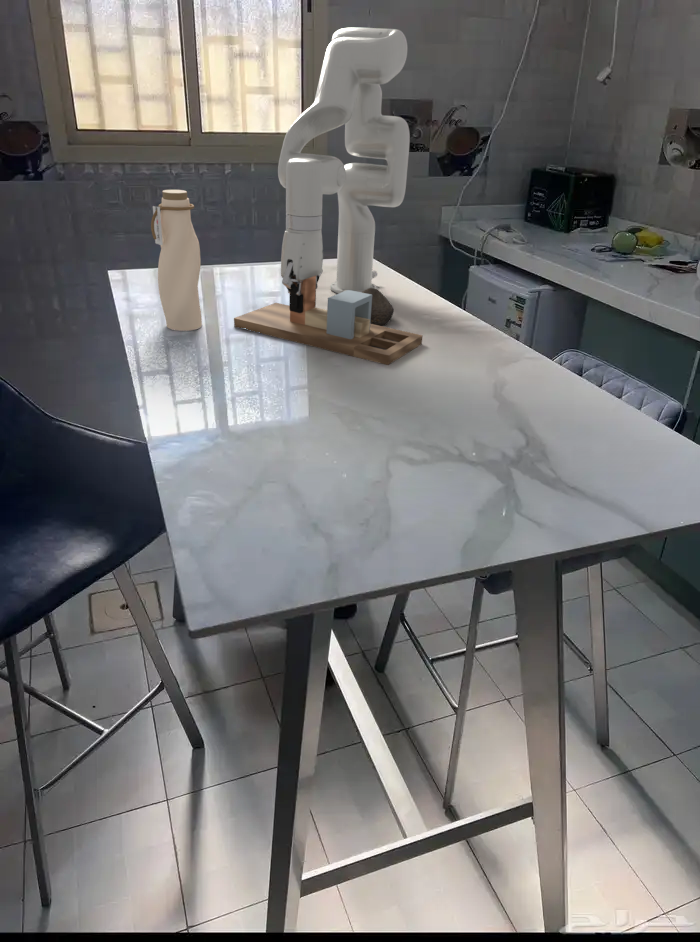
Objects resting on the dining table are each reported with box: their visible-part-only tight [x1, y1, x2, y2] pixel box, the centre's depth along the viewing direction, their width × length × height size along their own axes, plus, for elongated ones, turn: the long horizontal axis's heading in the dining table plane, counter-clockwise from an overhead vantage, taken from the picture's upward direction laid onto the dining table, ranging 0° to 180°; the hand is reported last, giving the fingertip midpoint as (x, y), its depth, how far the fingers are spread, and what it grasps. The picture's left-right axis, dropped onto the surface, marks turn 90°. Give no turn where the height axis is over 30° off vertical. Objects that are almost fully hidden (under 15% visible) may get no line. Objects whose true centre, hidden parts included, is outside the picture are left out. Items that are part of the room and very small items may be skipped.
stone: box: [361, 288, 395, 327], centre depth 163 cm, size 10×8×10 cm
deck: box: [233, 302, 423, 366], centre depth 151 cm, size 16×39×2 cm, turn 60°
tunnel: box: [326, 290, 372, 339], centre depth 146 cm, size 8×6×8 cm
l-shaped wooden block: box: [290, 276, 371, 338], centre depth 148 cm, size 4×18×10 cm, turn 60°
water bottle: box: [150, 189, 203, 332], centre depth 145 cm, size 10×9×28 cm
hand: (302, 308), depth 152 cm, fingers open, 4 cm apart
